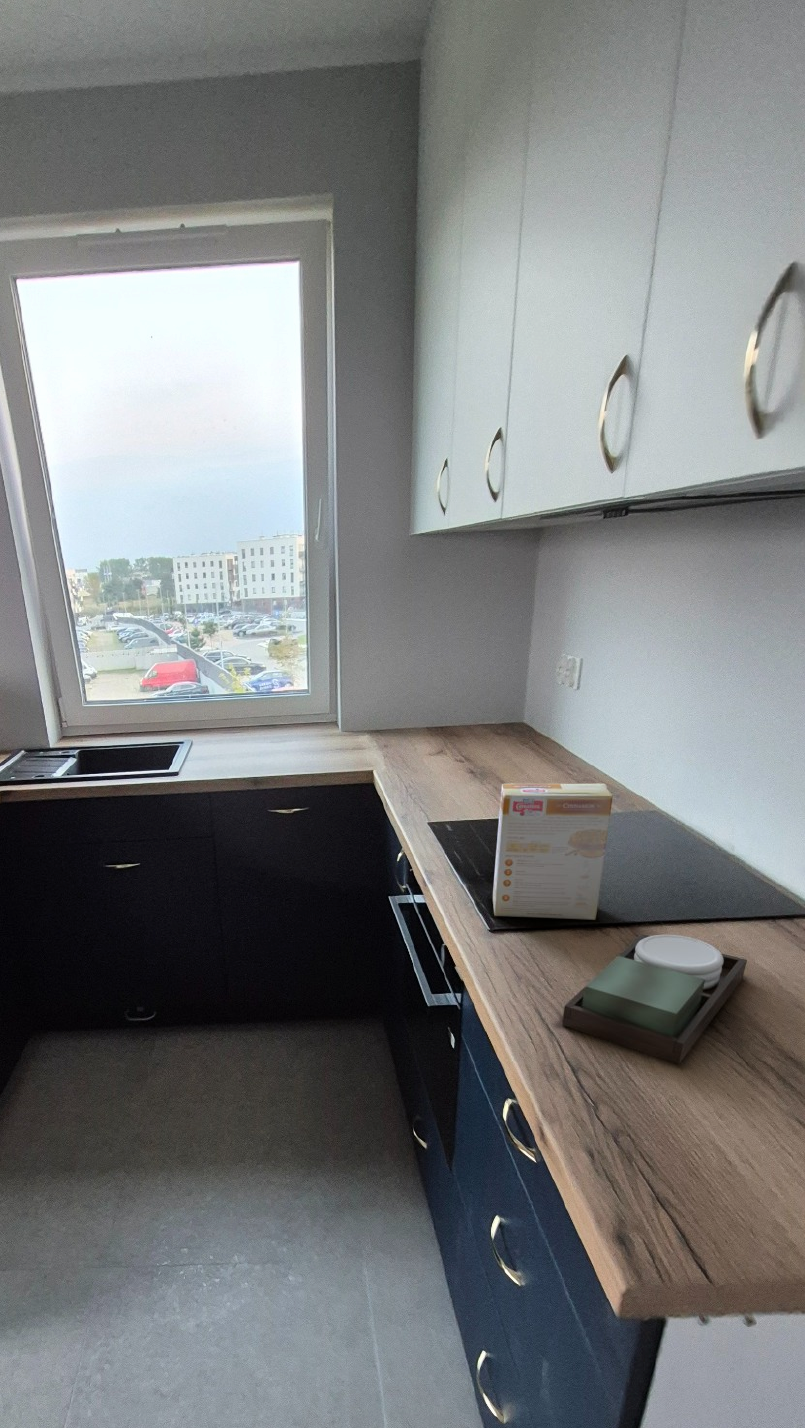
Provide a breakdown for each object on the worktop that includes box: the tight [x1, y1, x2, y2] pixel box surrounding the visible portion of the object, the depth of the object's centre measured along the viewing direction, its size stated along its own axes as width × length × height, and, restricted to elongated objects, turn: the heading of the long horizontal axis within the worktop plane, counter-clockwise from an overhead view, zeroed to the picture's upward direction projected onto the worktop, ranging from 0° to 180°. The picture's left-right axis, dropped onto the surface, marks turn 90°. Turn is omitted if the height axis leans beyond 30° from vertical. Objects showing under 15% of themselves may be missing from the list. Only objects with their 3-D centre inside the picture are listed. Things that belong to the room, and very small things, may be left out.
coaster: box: [634, 934, 724, 990], centre depth 102 cm, size 10×10×4 cm
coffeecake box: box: [492, 783, 614, 921], centre depth 121 cm, size 15×7×20 cm, turn 77°
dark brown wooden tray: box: [561, 933, 748, 1065], centre depth 98 cm, size 13×25×5 cm, turn 137°
